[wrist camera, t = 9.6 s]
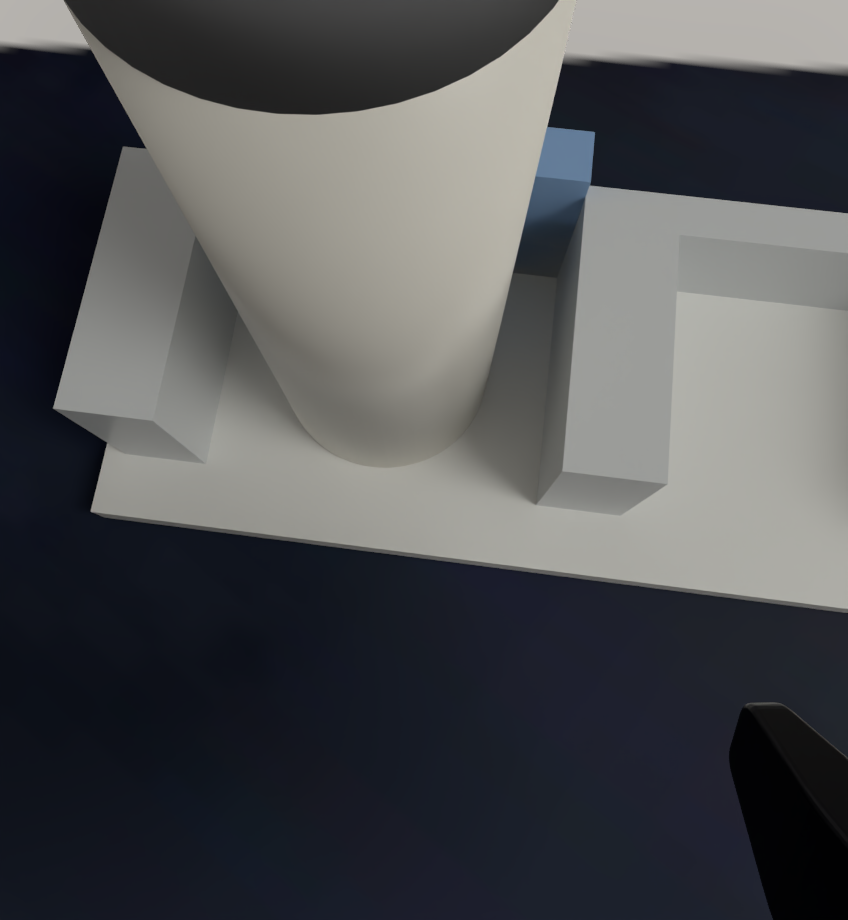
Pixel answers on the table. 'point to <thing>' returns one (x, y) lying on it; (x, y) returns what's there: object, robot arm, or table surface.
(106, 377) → the white slotted stand
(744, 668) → the table surface
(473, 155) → the white capped cylinder
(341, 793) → the table surface
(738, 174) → the table surface
